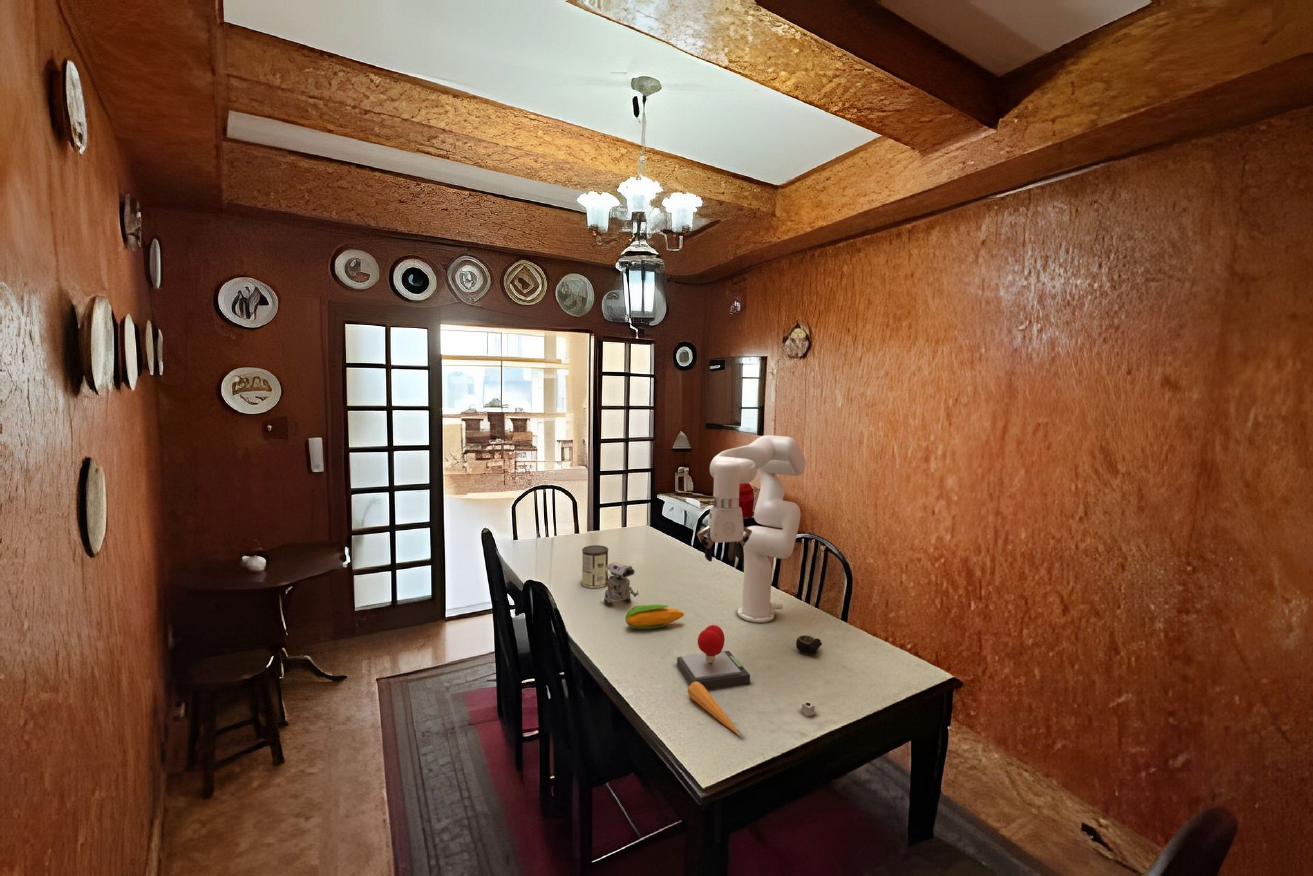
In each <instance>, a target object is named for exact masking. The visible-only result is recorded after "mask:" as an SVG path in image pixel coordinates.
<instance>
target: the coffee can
mask: <svg viewBox="0 0 1313 876" xmlns="http://www.w3.org/2000/svg"><path fill="white" fill-rule="evenodd" d="M581 552H582V568H581V569H582V570H581V571H582V576H581V577H582V581H581V582H582V583H581V584H582V586H584V587H586V588H592V589H598V588H603V587H605V586H607V585H605V580H606V579H605V578H606V576H607V575H608V576H609V570H608V569H607V566H608V565H609V548H608V547H607V546H605V545H600V544H599V545H598V544H596V545H587V546H584V547H583V548H582V549H581Z"/></svg>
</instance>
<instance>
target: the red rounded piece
mask: <svg viewBox="0 0 1313 876" xmlns="http://www.w3.org/2000/svg"><path fill="white" fill-rule="evenodd" d="M725 638H726V637H725V634H724V630H723V629H722V628H721V627H720V626H719V625H717V624H711V625H708V626H707V627H706V628H704V629H703V630H702V631H700V633H699V635H698V637H697V646H698V648H699V650H700V651H701V653H706V661H707V662H708V663H709V664H712V663H713V662H715V655H718V654H720V653H721V651H723V649H724V646H725Z"/></svg>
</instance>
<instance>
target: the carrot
mask: <svg viewBox="0 0 1313 876" xmlns="http://www.w3.org/2000/svg"><path fill="white" fill-rule="evenodd" d="M687 694H688V697H690V698H691V699H692V700H693V701H694V702H696V704H698V705H699V706H701V707H702V708H703V709H704V710H705V711H707V712H708V713H709V714H710V715H712V716H713V717H714V718H715V719H716V720H718V721H719V722H720V723H721V724H723V725H724V726H725V727H727V728H728V730H729V729H730V730H731V731H732V732H734V733H735V734H736V735H738V736H739V737H741V735H740V732H739V731H738V729H736V727H735V726H734V724H733V723H732V721H731V720H730V718H729V717H728V716H727V715H726V713H725V712H724V710H723V709H722V708H721V707H720V705H719V703H717V701H716V700H715V699H714V698H713V696H712V694H711V693H710V692H709V691H708V690H706V688H705V687H704V686H703V685H702V684H701V683H699V682H697V681H696V682H693V683H691V685H690V684H689V686H688V688H687Z"/></svg>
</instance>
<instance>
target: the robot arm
mask: <svg viewBox="0 0 1313 876" xmlns="http://www.w3.org/2000/svg"><path fill="white" fill-rule="evenodd" d="M805 469H806V458H805V455H804V453H803V451H802V449H801V447H800V445H799V444H798V442H797V441H796V440H795V439H794V438H793V437H791V436H787V435H786V436H785V435H784V436H783V435H771V434H766V435H762V436H759V437H758V438H757V439H755V440H753V441H752V442H751V443H749V444H747V445H742V446H737V447H732V448H729V449H725V450H722V451H721V452H719V453H718V454H716V455H715V456H714V457H713V458H712V460H711V461H710V464H709V474H710V477H712V478H713V495H712V499H709V500H708V504H709V505H712V506H711V507H710V509H709V513H708V519H707V526H706V527H704V528H702V529H701V530H700V531H699V530H698V532H696V536H697V538H698V539H699V542H700V543H701V544H702V545H703V546H704V558H705V559H706V561H708V562H712V561H713V548H712V546H713V545H714V544H715V543H716V544H717V543H719V544H720V543H733V542H734V543H735V542H736V544H735V552H734V553H735V557H736V558H737V559H739V560H742V559H743V581H742V582H743V583H742V605H741V606H740V607H738V609H737V615H738V617H739V618H741V619H743V620H745V621H748V622H752V623H767V622H771V621H772V620H773V619H775V612H774V611H776V610H783V607H784V606H783V603H777V602H776V601H771V598H772V597H771V593H772V577H773V576H772V574H773V573H772V571H773V568H772V563H771V561H770V559H769V557H771V558H775V559H781V560H787V559H789V558H790V557H792V554H793V552H794V548H795V545H796V540H797V536H798V532H799V527H800V523H801V517H802V513H801V508H800V506H799V505H798V504H797V503H795V502H793V501H789V500H784V496H785V492H786V490H785V486H784V483H783V482H782V481H781V479H780V478H779V477H778V475H782V476H792V477H793V476H794V477H797V476H801V475H802V474H803V473H804V472H805ZM758 474H759V479H760V490H759V493H758V496H757V499H756V500H757V501H756V503H755V508H754V512H753V519H754V521H755V522H756V524H759V525H750V526H747V527H746V526H744V516H743V511H742V510H743V509H742V507H741V506H740V484H744V485H745V484H749V483H751V482H753V480H755V478H756V476H757V475H758ZM760 525H761V526H760ZM771 527H772V528H771ZM705 535H707V538H706V539H705V537H704V536H705Z"/></svg>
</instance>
